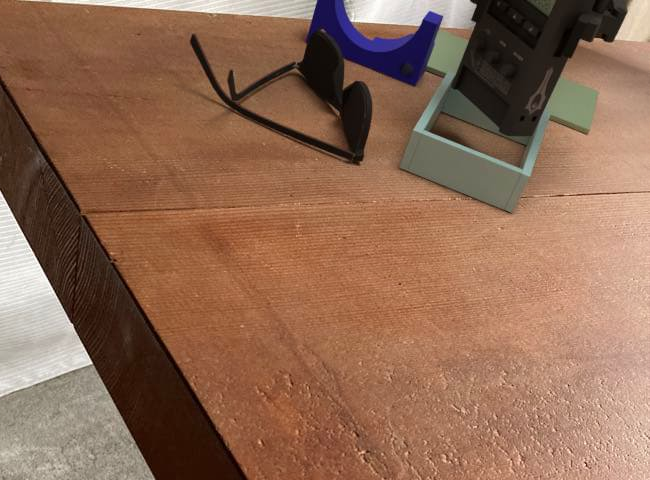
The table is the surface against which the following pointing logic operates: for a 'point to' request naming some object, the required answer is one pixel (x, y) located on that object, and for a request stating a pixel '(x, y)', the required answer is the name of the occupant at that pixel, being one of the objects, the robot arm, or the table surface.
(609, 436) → the table surface
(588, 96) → the mat
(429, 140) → the holder
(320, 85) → the sunglasses
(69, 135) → the table surface
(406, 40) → the blue curved cradle stand
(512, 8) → the geiger counter
